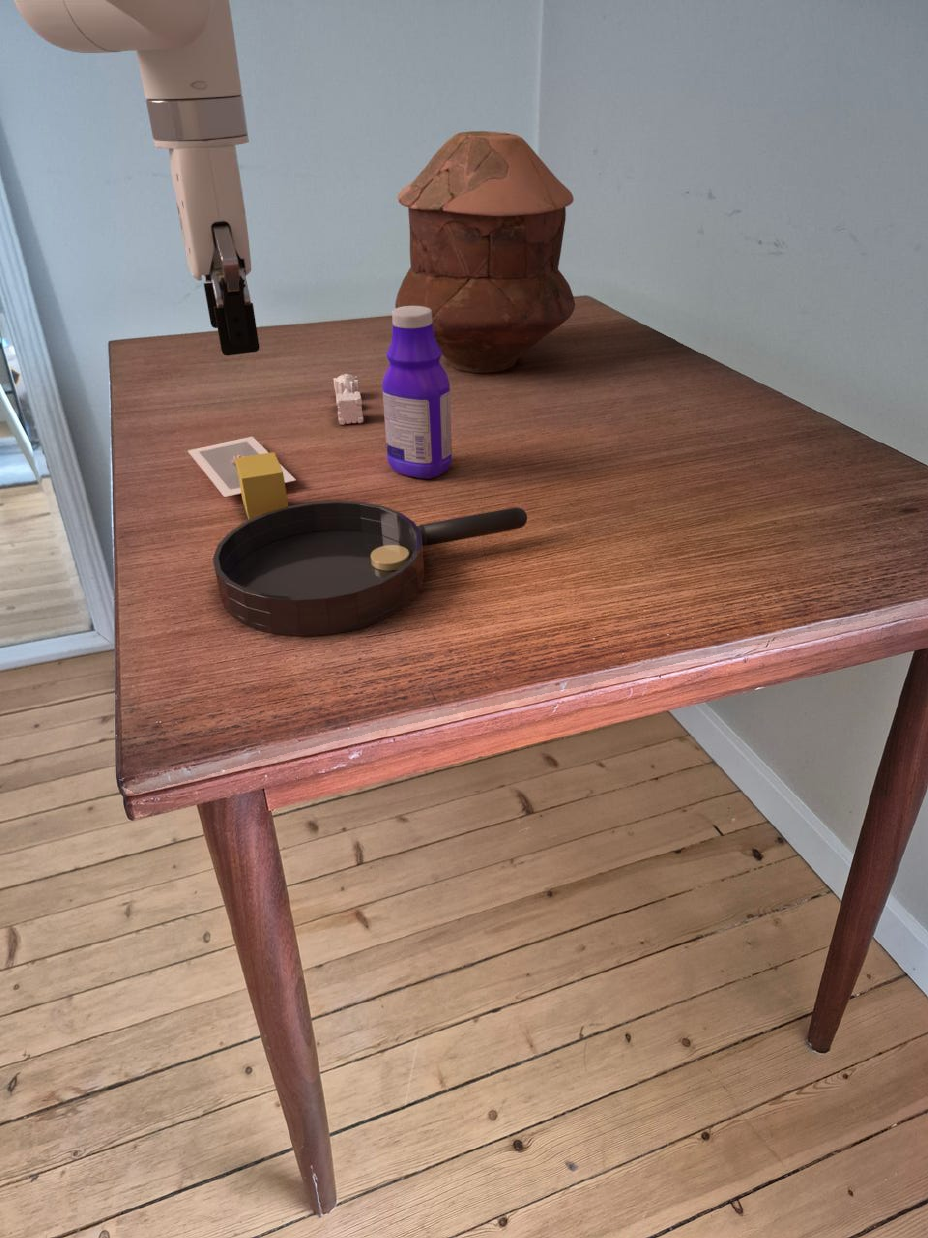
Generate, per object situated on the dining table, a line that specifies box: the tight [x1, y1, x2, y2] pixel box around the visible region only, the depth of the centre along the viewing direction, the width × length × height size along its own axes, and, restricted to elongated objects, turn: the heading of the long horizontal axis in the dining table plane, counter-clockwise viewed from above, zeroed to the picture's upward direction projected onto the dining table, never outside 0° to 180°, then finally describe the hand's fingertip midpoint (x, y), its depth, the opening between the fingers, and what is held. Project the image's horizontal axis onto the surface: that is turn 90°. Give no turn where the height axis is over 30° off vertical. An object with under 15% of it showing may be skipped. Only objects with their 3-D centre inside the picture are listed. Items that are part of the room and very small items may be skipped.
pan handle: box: [416, 506, 528, 547], centre depth 82 cm, size 11×2×2 cm, turn 109°
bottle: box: [381, 306, 453, 480], centre depth 95 cm, size 7×6×17 cm
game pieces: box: [332, 373, 365, 425], centre depth 117 cm, size 12×3×3 cm, turn 9°
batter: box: [371, 545, 410, 571], centre depth 81 cm, size 4×4×1 cm
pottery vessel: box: [394, 130, 576, 374], centre depth 124 cm, size 26×26×30 cm
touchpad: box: [186, 436, 297, 498], centre depth 100 cm, size 8×15×2 cm, turn 29°
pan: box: [212, 500, 425, 637], centre depth 79 cm, size 18×18×4 cm
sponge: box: [235, 451, 289, 521], centre depth 90 cm, size 4×6×6 cm
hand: (234, 338), depth 81 cm, fingers open, 9 cm apart
